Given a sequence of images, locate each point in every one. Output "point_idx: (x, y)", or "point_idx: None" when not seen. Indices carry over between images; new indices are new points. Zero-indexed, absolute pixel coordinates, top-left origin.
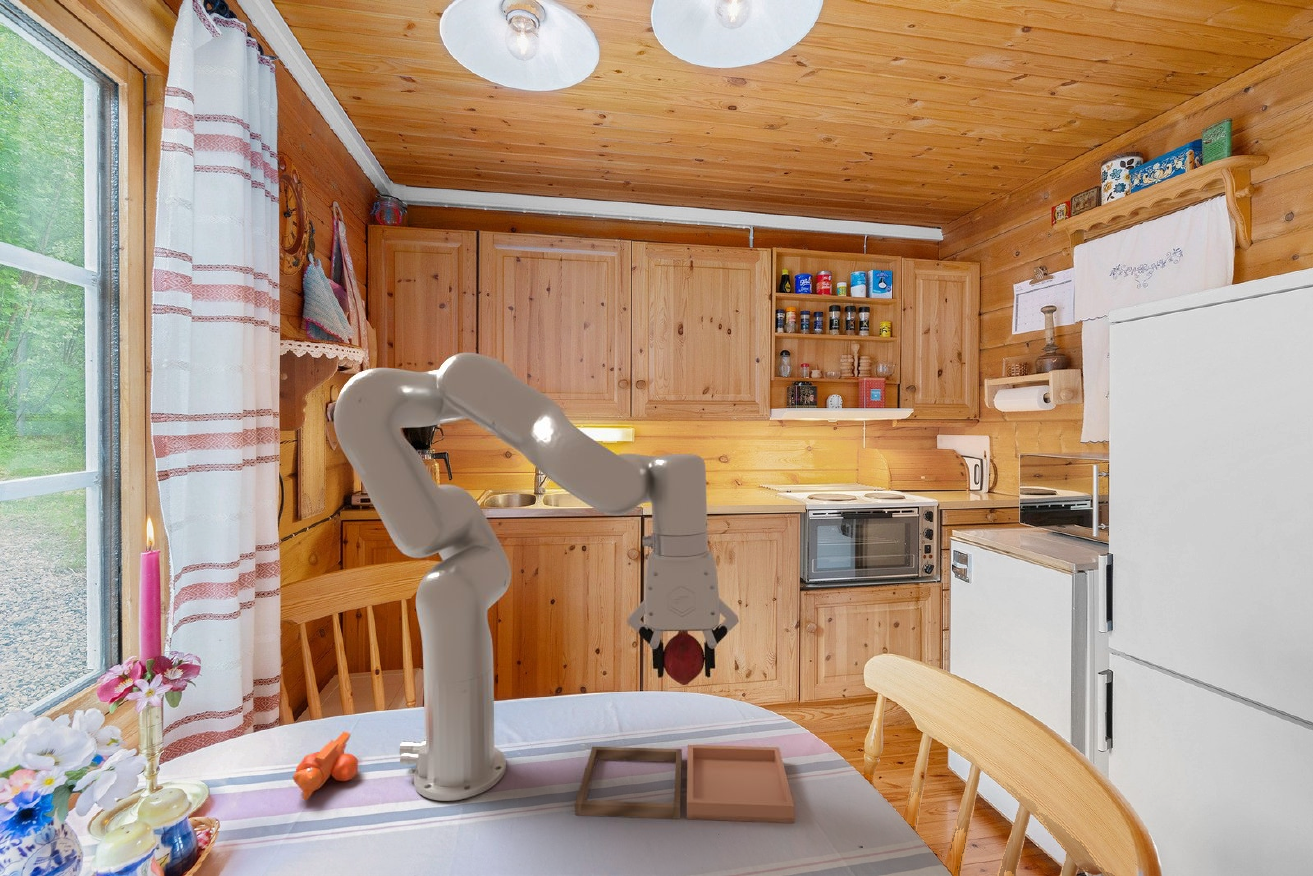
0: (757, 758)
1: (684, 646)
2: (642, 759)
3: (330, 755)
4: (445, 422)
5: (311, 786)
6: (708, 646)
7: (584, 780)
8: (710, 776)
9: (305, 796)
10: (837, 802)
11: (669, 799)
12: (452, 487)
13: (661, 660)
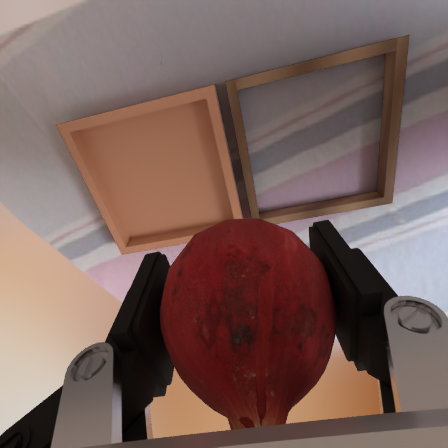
0: (151, 237)
1: (229, 325)
2: (307, 204)
3: None
4: None
5: None
6: (125, 355)
7: (397, 110)
8: (202, 186)
9: None
10: (35, 181)
11: (251, 126)
12: None
13: (335, 261)
